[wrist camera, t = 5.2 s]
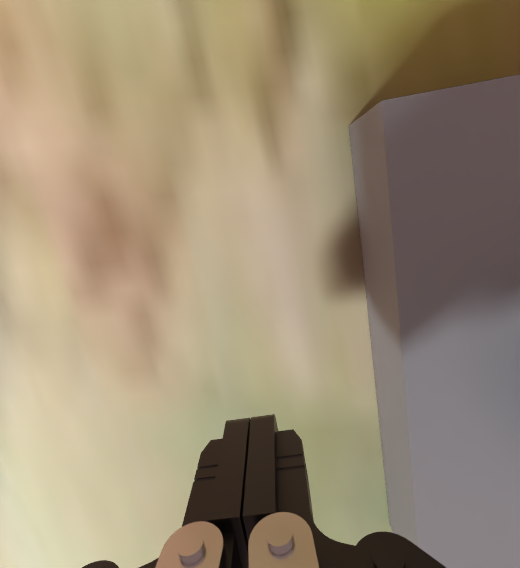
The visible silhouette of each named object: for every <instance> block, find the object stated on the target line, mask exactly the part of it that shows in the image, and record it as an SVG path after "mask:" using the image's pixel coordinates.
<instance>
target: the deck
mask: <svg viewBox="0 0 520 568" xmlns="http://www.w3.org/2000/svg"><path fill="white" fill-rule="evenodd" d="M349 132H350V141H351V151H352V161H353V171H354V180H355V190H356V200H357V209H358V219H359V229H360V239H361V248H362V258H363V268H364V277H365V287H366V297H367V307H368V316H369V326H370V336H371V345H372V355H373V365H374V375H375V384H376V394H377V404H378V413H379V423H380V433H381V443H382V452H383V462H384V472H385V481H386V491H387V501H388V511H389V520H390V526H391V529H392V531H393V533H395V534H398V535H400V536H402V537H405V538H406V539H408V540H409V541H411V542H412V543H413V544H415V545H416V546H418V547H419V548H420V549H422V550H423V551H424V552H426V553H427V554H429V555H430V556H431V557H433V558H434V559H435V560H437V561H438V562H440V563H441V564H442V565H444V566H445V567H446V568H520V74H519V75H514V76H508V77H503V78H498V79H493V80H487V81H482V82H477V83H471V84H466V85H461V86H456V87H450V88H445V89H440V90H434V91H429V92H424V93H419V94H413V95H408V96H403V97H397V98H392V99H387V100H382V101H380V102H379V103H378V104H376V105H375V106H374V107H372V108H371V109H370V110H369V111H367V112H366V113H365V114H363V115H362V116H361V117H360V118H358V119H357V120H356V121H354V122H353V123H352V124H350V125H349Z"/></svg>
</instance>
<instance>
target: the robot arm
mask: <svg viewBox="0 0 520 568" xmlns="http://www.w3.org/2000/svg"><path fill="white" fill-rule="evenodd" d="M194 480H195V481H194V482H193V486H192V490H191V494H190V498H189V501H188V505H187V509H186V513H185V517H184V521H183V524H182V527H181V528H180V529H178V530H177V531H176V532H174V533H173V534H172V535H171V536H170V538H169V539H168V540H167V541H166V543H165V545H164V547H163V549H162V551H161V554H160V556H159V558H157V559H156V560H154V561H152V562H150V563H148V564H146V565H144V566H141V567H139V568H446V567H445V566H444V565H442V564H441V563H440V562H438V561H437V560H435V559H434V558H433V557H431V556H430V555H429V554H427V553H426V552H424V551H423V550H422V549H420V548H419V547H418V546H416V545H415V544H413V543H412V542H411V541H409V540H408V539H406V538H405V537H402V536H400V535H398V534H395V533H390V532H375V533H372V534H369V535H367V536H365V537H364V538H362V539H361V540H360V541H359V542H358V543H357V545H356V546H354V545H349V544H344V543H340V542H337V541H334V540H332V539H330V538H328V537H327V536H325V535H324V534H323V533H322V532H320V531H319V529H318V528H317V527H316V525H315V524H314V520H313V513H312V505H311V497H310V489H309V482H308V476H307V470H306V463H305V457H304V451H303V445H302V440H301V439H300V437H299V436H298V435H297V434H296V432H295V431H294V430H286V431H278V428H277V423H276V418H275V415H266V416H259V417H251V419H250V418H244V419H237V420H229V421H226V424H225V429H224V435H223V439H216V440H211V441H210V442H209V443H208V445H207V446H206V447H205V449H204V450H203V451H202V453H201V455H200V459H199V463H198V470H197V471H196V475H195V478H194ZM82 568H119V567H118V566H117V565H116V564H115V563H113V562H111V561H106V560H104V561H96V562H93V563H90V564H88V565H86V566H84V567H82Z"/></svg>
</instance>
